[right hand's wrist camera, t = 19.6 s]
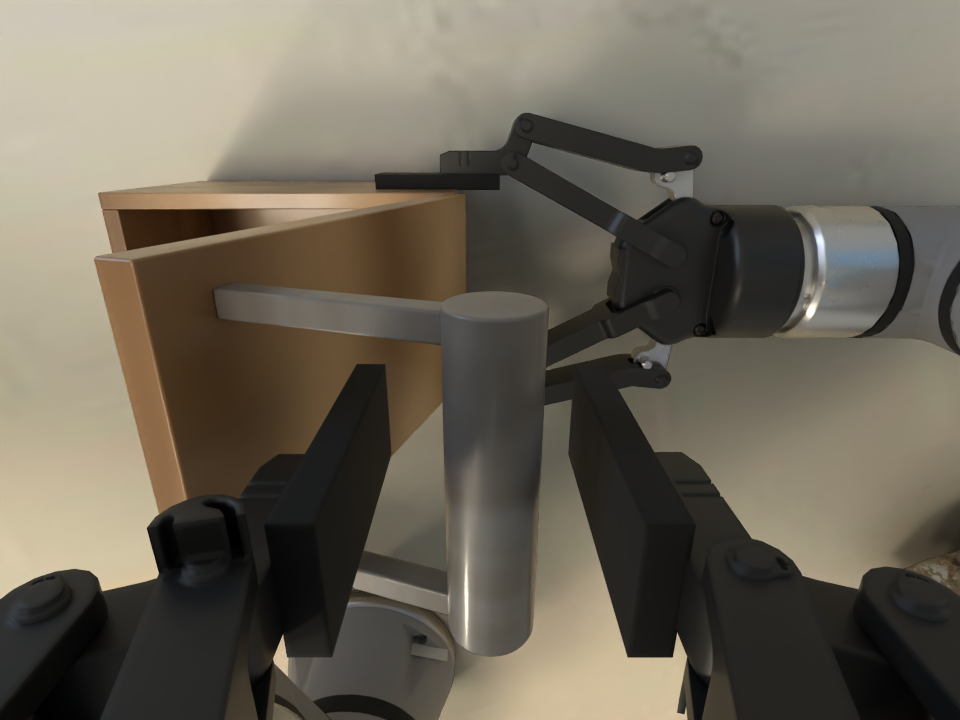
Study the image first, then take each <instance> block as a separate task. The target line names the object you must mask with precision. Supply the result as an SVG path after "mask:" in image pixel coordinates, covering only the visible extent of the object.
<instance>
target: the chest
mask: <svg viewBox="0 0 960 720" xmlns="http://www.w3.org/2000/svg"><path fill="white" fill-rule="evenodd" d="M447 193H448V194H459V190H456V189H376V187H375V181H198V182H189V183H180V184H171V185H162V186H153V187H145V188H136V189H127V190H118V191H109V192H100V193H98V195H99V199H100V203H101V208H102V209H103V210H102V211H103V216H104V220H105V224H106V228H107V232H108V236H109V240H110V244H111V249H112V253H118V252H123V251H129V250H134V249H140V248H146V247H151V246H157V245H162V244H168V243H173V242H179V241H185V240H190V239H196V238H201V237H207V236H212V235H218V234H224V233H229V232H235V231H240V230H246V229H251V228H257V227H263V226H268V225H274V224H279V223H285V222H290V221H296V220H302V219H307V218H313V217H318V216H324V215H330V214H335V213H341V212H346V211H352V210H357V209H363V208H369V207H374V206H380V205H385V204H391V203H396V202H402V201H408V200H413V199H419V198H424V197H430V196H435V195H441V194H447Z"/></svg>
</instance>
